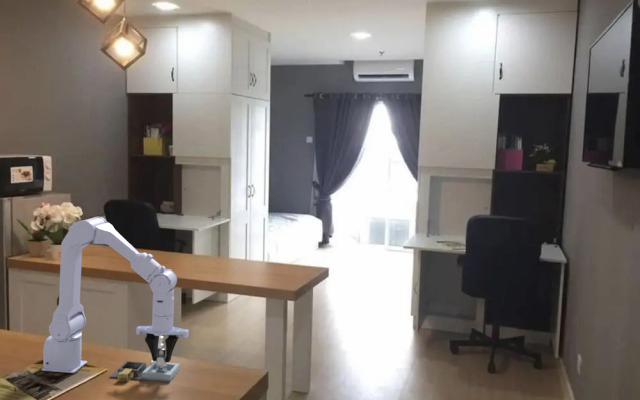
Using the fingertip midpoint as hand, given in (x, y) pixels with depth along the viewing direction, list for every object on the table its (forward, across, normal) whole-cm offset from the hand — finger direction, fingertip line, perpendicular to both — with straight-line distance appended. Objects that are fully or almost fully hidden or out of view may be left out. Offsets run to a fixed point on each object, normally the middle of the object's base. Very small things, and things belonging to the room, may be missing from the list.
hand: (161, 360), depth 155 cm
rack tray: (+4, 0, 0) cm, 4 cm away
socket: (+4, -8, 0) cm, 9 cm away
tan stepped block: (+4, -8, -4) cm, 10 cm away
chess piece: (+4, -4, +8) cm, 10 cm away
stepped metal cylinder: (+4, 0, 0) cm, 4 cm away
